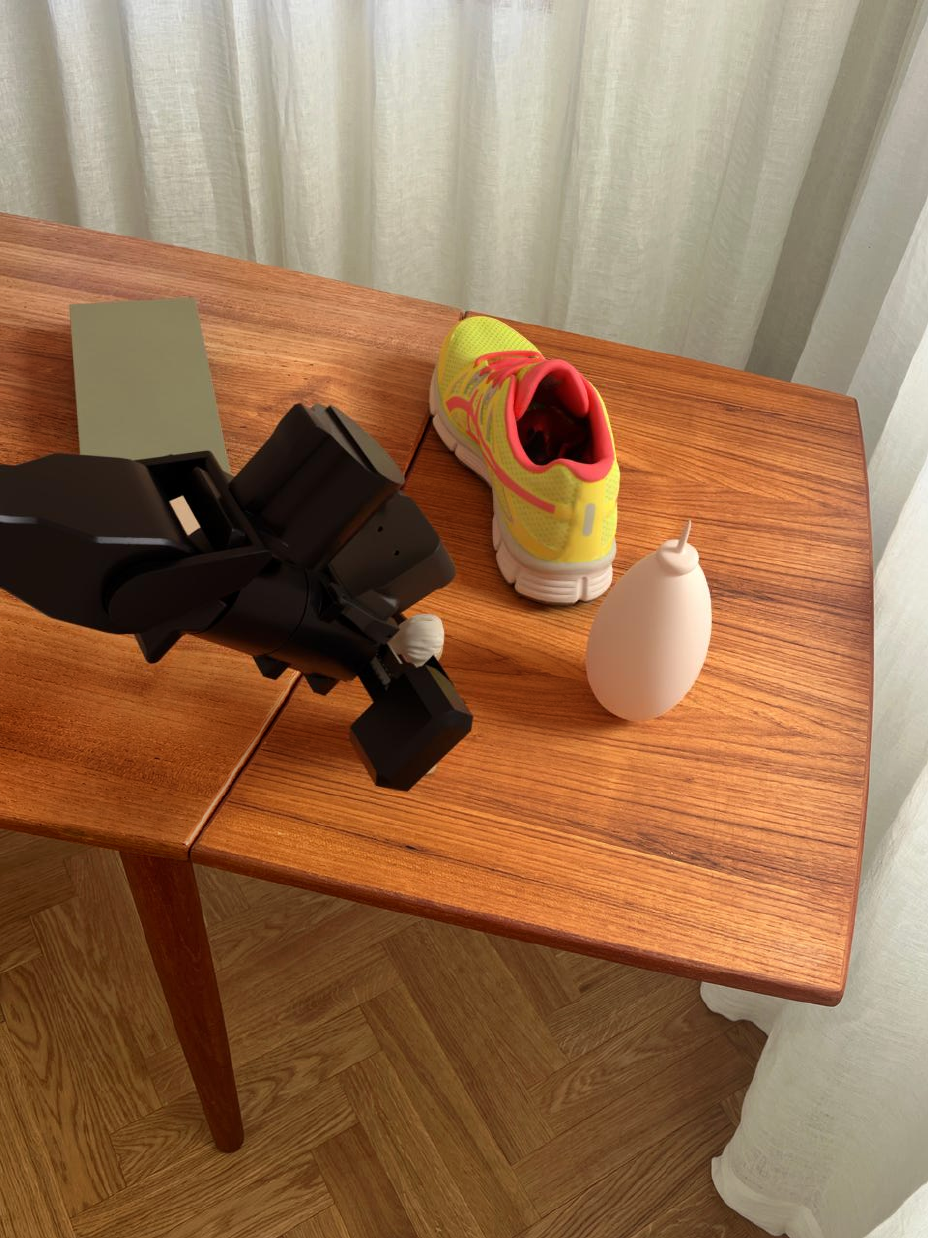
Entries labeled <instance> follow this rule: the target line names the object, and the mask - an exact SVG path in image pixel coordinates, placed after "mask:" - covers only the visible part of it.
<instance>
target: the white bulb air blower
mask: <svg viewBox="0 0 928 1238" xmlns="http://www.w3.org/2000/svg"><path fill="white" fill-rule="evenodd" d="M691 526H692V521H691V519H690V520H688V521H686V524H685V525H684V528H683V530H682V532H681V534H680V537H679V539H676V538H675V539H673V538H672V539H667V540H665V541H664V542H662V543H661V544H660V545H659V546H658V548H657V549H656V550H654V551H652V552H649V554H646V555H645V556H644V557H642V558H641V559H639V560H638V561H636V563H634V564H632V566H630V567H629V568H628V569H627V571H625V572H624V574H622V576H620V577H619V579H618V580H617V581H616V582H615V583H614V585H613V586H612V588H611V589H610V590H609V591H608V593H607V595H606V596H605V597H604V599H603V600H602V602H601V603H600V606H599V608H598V610H597V611H596V614H595V616H594V619H593V622H592V623H591V626H590V630H589V633H588V637H587V641H586V649H585V671H586V676H587V681H588V684H589V687H590V689H591V691H592V692H593V694H594V697H595V698H596V700H597V701H598V703H599V704H600V705H601V706H602V707H603V708H604V709H606V711H608V712H610V713H611V714H612V715H614V716H616V717H618V718H621V719H623V720H626V721H630V722H646V721H647V722H648V721H651V720H653V719H656V718H658V717H661V716H663V715H664V714H666V713H667V712H669V711H670V710H672V709H673V708H675V707H676V706H677V705H678V704H679V703H680V702H681V701H682V700H683V699H684V697H685V696H686V695H687V694H688V693H689V691H690V690H691V688H692V687H693V686H694V684H695V682H696V681H697V678H698V676H699V675H700V673H701V670H702V669H703V666H704V664H705V661H706V658H707V653H708V649H709V647H710V641H711V636H712V627H713V626H712V624H713V622H712V617H713V616H712V600H711V593H710V589H709V585H708V582H707V579H706V576H705V573H704V571H703V569H702V566H700V564H699V561H700V556H699V552H698V550H697V549H696V548H695V547H694V546H693V545H692V544H690V543H688V539H689V536H690V531H691Z"/></svg>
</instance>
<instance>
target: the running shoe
mask: <svg viewBox="0 0 928 1238" xmlns="http://www.w3.org/2000/svg"><path fill="white" fill-rule="evenodd" d="M431 376H432V377H431V381H430V387H429V397H428V398H429V400H428V403H429V416H430V418H432V424H433V429H434V430H435V434H436V435H437V436H438V437H439V438H440V440H441V442H442V443H443V445H444V447H445V448H446V449H447V450H448V451H449V452H450V453H454V455H455V457H457V461H458V463H460V464H461V465H462V466H463V467H465V468H466V469H469V470H470V471H472V472H473V473H475V475H476V477H478V478H479V479H480V480H481V481H482V482H483V483H484V484H486V486H487V487H488V488H489V490H491V491H492V503H493V507H492V508H493V518H492V548H493V552H494V553H496V554H495V559H496V561H495V563H496V566H497V569H498V571H499V572H500V575H501V576H502V578H503V580H504V581H505V582H506V583H507V584H508V585H510V586H512V585H514V589H515V593H516V594H517V595H519V596H522V597H523V598H526V599H529V600H531V601H534V602H537V603H541V604H545V605H551V606H552V605H553V606H560V607H561V606H573V605H575V603H576V602H577V601H579V602H581V603H583V604H589V603H591V602H594V601H595V600H598V599H599V598H601V597H602V596H603V595H605V593H606V592H607V591H608V589H609V588H610V586H611V584H612V583H613V582H612V581H613V576H614V575H613V574H614V573H613V572H614V571H613V565H612V563H613V562H614V561H615V558H616V555H617V542H616V537H615V536H616V532H617V527H618V498H619V494H620V493H619V492H620V479H621V471H620V467H619V464H618V462H617V460H618V459H617V454H616V448H615V440H614V434H613V430H612V426H611V423H610V418H609V413H608V410H607V407H606V404H605V401H604V400H603V398H602V395H600V393H599V391H598V389H597V388H596V387H595V386H594V385H593V383H592V382H590V381H589V380H588V379H587V378H586V377H584V375H583V374H582V373H581V372H580V371H578V369H576V368H575V367H574V366H573V365H572V364H571V363H570V362H568V361H565V360H563V359H559V358H558V359H557V358H554V359H553V358H552V359H546V358H545V357H544V355H543V354H542V353H541V351H540V350H539V349H538V348H537V347H536V346H535V345H534V344H533V343H532V342H531V341H529V340H528V339H527V338H526V337H524V336H523V335H522V334H520V332H518V331H517V330H515V328H512V327H511V326H510V325H508V324H506V323H504V322H502V321H500V320H499V319H496V318H494V317H489V316H485V315H478V316H477V315H475V316H469V317H466V318H462V320H459V321H458V322H456V323H455V324H454V325H453V326H452V328H450V330H449V331H448V333H447V334H446V335H445V337H444V338H443V341H442V343H441V346H440V350H439V354H438V356H437V359H436V362H435V366H434V369H433V372H432V375H431Z"/></svg>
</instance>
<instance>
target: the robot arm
mask: <svg viewBox="0 0 928 1238" xmlns="http://www.w3.org/2000/svg"><path fill="white" fill-rule="evenodd" d="M375 439H376V438H374V437H373V436H372V435H370V433H369V432H368V431H367V430H365V429H364V428H363V427H362V426H361V425H360V424H358V423H357V422H356V421H355V420H354V419H352V418H351V417H349V415H347V414H346V413H345V412H343V411H342V410H340V409H339V408H338V407H335V406H334V405H332V404H329V405H328V406H326V405H324V404H321V403H314V404H313V405H312V406H311V407H308V406H306V405H305V404H303V403H302V402H298V403H294V404H293V405H292V407H290V409H289V410H288V411H287V412H286V414H285V415H283V417H282V418H281V419H280V421H279V422H278V423H277V425H276V427H275V428H274V430H273V431H272V434H271V435H270V436H269V438H268V439H267V440H266V441H265V442H264V443H263V444H262V445H261V446H260V448H258V450H257V451H256V452H255V453H254V455H252V457H251V458H250V459H249V460H248V461H247V462H246V463H245V465H244V466H243V467H242V468H241V469H240V470H239V471H238V472H237V473H236V474H235V476H234V475H233V474H232V473H231V474H229V473H227V472H225V471H223V469H222V468H221V466H220V464H219V463H218V461H217V459H216V458H215V456H214V454H213V453H212V452H211V451H208V450H206V451H198V452H191V453H184V454H176V455H172V454H170V455H166V456H161V457H154V458H147V459H139V460H130V459H125V458H119V457H105V456H92V455H80V453H79V454H77V453H66V452H65V453H64V452H54V453H50V454H47V455H43V456H40V457H37V458H33V459H31V460H27V461H24V462H22V463H18V464H4V463H3V464H1V463H0V589H1V590H3V591H5V592H6V593H8V594H9V595H11V596H13V597H14V598H16V599H18V600H20V601H22V602H23V603H25V604H26V605H28V606H29V607H31V608H32V609H34V610H35V611H37V612H39V613H41V614H43V615H44V616H46V617H47V618H50V619H53V620H56V621H60V622H63V623H67V624H71V625H74V626H79V627H83V628H86V629H90V630H94V631H97V632H101V633H105V634H109V635H110V634H111V635H118V636H121V635H123V636H124V635H133V636H134V638H135V640H136V643H137V644H138V647H139V649H140V651H141V653H142V656H143V657H144V660H145V662H146V663H147V664H150V665H154V664H157V663H159V662H160V661H161V660H162V659H163V658H164V657H165V656H166V654H168V652H170V651H171V649H172V648H173V647H174V646H175V645H176V644H177V642H178V641H180V639H182V637H184V636H186V635H187V636H191V637H194V638H198V639H201V640H203V641H206V642H210V643H212V644H216V645H218V646H221V647H225V648H228V649H230V650H233V651H236V652H239V653H242V654H246V655H249V656H251V657H252V659H253V661H254V663H255V665H256V666H257V669H258V670H259V672H260V675H262V677H263V678H266V679H268V680H269V679H270V680H273V681H277V680H278V679H279V678H280V677H281V676H282V675H283V673H285V672H286V671H287V669H291V670H293V671H296V672H300V673H302V675H303V677H304V678H305V680H306V682H307V683H308V685H309V687H310V689H311V691H312V692H313V693H314V694H317V695H319V696H323V697H326V696H327V695H328V694H329V693H330V692H331V691H332V690H333V689H334V688H335V687H336V686H337V685H338V684H339V683H340V682H341V681H342V682H344V683H346V684H351V683H352V682H353V681H354V680H355V679H356V678H357V677H358V679H359V681H360V682H361V684H362V685H363V688H364V689H365V690H366V692H367V694H368V695H369V697H370V699H371V701H372V703H371V704H370V705H369V706H368V707H367V708H366V709H365V710H364V711H363V712H362V713H361V714H360V715H359V717H357V718H356V719H355V720H354V722H352V723H351V724H350V725H349V733H348V734H349V735H348V738H349V739H348V741H349V742H350V744H351V746H352V747H353V750H354V751H355V753H356V754H357V757H358V758H359V760H360V761H361V763H362V765H363V767H364V768H365V770H366V772H367V774H368V775H369V777H370V779H371V781H372V782H373V784H374V786H375V787H378V788H382V789H386V790H391V791H396V792H404V793H405V792H406V793H408V792H409V791H410V790H411V789H412V788H413V787H414V786H415V785H416V784H417V783H419V781H420V780H422V778H424V776H427V775H426V774H427V773H428V772H429V771H430V770H431V769H432V768H433V767H434V766H435V765H436V764H437V765H438V763H439V762H440V761H442V759H444V758H445V757H446V756H447V755H448V754H449V753H450V752H451V751H452V750H454V748H455V747H457V745H458V744H459V743H460V742H461V741H462V740H464V739H465V737H466V736H467V735H468V734H470V733H471V731H472V729H473V721H474V715H473V713H472V712H471V710H470V709H469V708H468V706H467V704H466V701H465V699H464V698H463V697H462V696H461V695H460V694H459V692H458V691H457V689H456V687H455V684H454V683H453V681H452V680H451V678H450V677H449V675H448V674H447V672H446V671H445V669H444V668H443V666H442V664H441V663H440V662H439V660H437V659H436V657H435V656H434V655H432V656H431V657H430V658H429V659H428V660H427V661H426V662H425V663H424V664H423V665H422V666H420V667H418V666H417V665H416V664H414V663H411V662H406V663H403V664H402V662H401V660H400V659H399V657H398V656H397V654H396V653H395V651H394V650H393V648H392V646H391V645H390V643H389V641H390V640H391V639H392V638H393V636H394V635H395V634H396V633H397V632H398V631H399V630H400V628H399V625H400V624H401V623H402V622H404V621H406V620H407V619H408V618H407V616H405V615H404V614H403V613H404V612H405V611H407V610H408V609H410V608H411V607H413V606H414V605H416V604H418V603H419V602H420V601H422V600H424V599H425V598H426V597H428V596H429V595H431V594H432V593H434V592H436V591H437V590H441V589H444V588H445V587H447V586H448V585H449V584H451V582H452V581H454V579H455V577H456V574H457V567H456V563H455V562H454V559H453V558H452V557H451V555H450V553H449V551H448V550H447V547H446V546H445V544H444V541H443V540H442V538H441V536H440V535H439V533H438V531H437V530H436V528H435V527H434V526H433V525H432V523H431V522H430V521H429V519H428V518H427V517H426V515H425V514H424V512H423V511H422V510H421V508H420V507H419V506H418V504H417V503H416V502H415V500H414V499H413V498H411V497H410V496H408V495H406V494H405V493H404V492H403V491H402V490H401V488H402V487H403V486H404V485H405V483H406V477H405V476H404V473H403V472H402V470H401V469H400V467H399V465H398V464H397V463H396V461H395V460H394V458H393V457H392V456H391V455H390V454H389V453H388V452H387V451H386V450H385V449H384V448H383V446H382V445H381V444H380V443H379V442H378V441H377V440H375ZM181 496H183V497H184V499H185V500H186V502H187V504H188V506H189V508H190V509H191V511H192V513H193V515H194V517H195V518H196V520H197V522H198V524H199V526H200V528H198V529H197V530H195V531H194V532H192V533H191V534H190V535H187V533H186V531H185V529H184V527H183V525H182V524H181V522H180V520H179V518H178V516H177V514H176V513H175V511H174V509H173V507H172V505H171V503H170V501H171V500H174V499H176V498H179V497H181Z"/></svg>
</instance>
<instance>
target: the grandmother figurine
mask: <svg viewBox="0 0 928 1238" xmlns="http://www.w3.org/2000/svg"><path fill="white" fill-rule="evenodd" d="M399 628H400V630H399V631H398V632H397V633H396V634H395V635H394V636H393V638H392V639H391V640H390V641H389V643H390V645H391V646H392V648H393V650H394V651H395V653H396V654H397V656H398V657H399V659H400V660H401V662H402V664H403V663H406V662H411V663H414V664H416V665H417V666H418V667H420V666H422V665H423V664H424V663H425V662H426V661H427V660H428V659H429V658H430V657H431V656H432V655H434V656H435V657H436V659H437V660H438V661H439V660H440V659H441V657H442V655H443V651H444V644H445V630H444V626H443V622H442V619H441V618H440V617H439V616H437V615H435V614H432V613H420V614H415V615H413V616H411V617H409V618H407V620H406V621H404V622H402V623H401V624H400V625H399ZM437 767H438V763H437V764H436V765H435V766H434V767H433V768H432V769H431V770H430V771H429V772H428V773H427V774H426V775H425V776H428V775H430V774H433V773H434V772H435V771H436V769H437Z"/></svg>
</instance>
